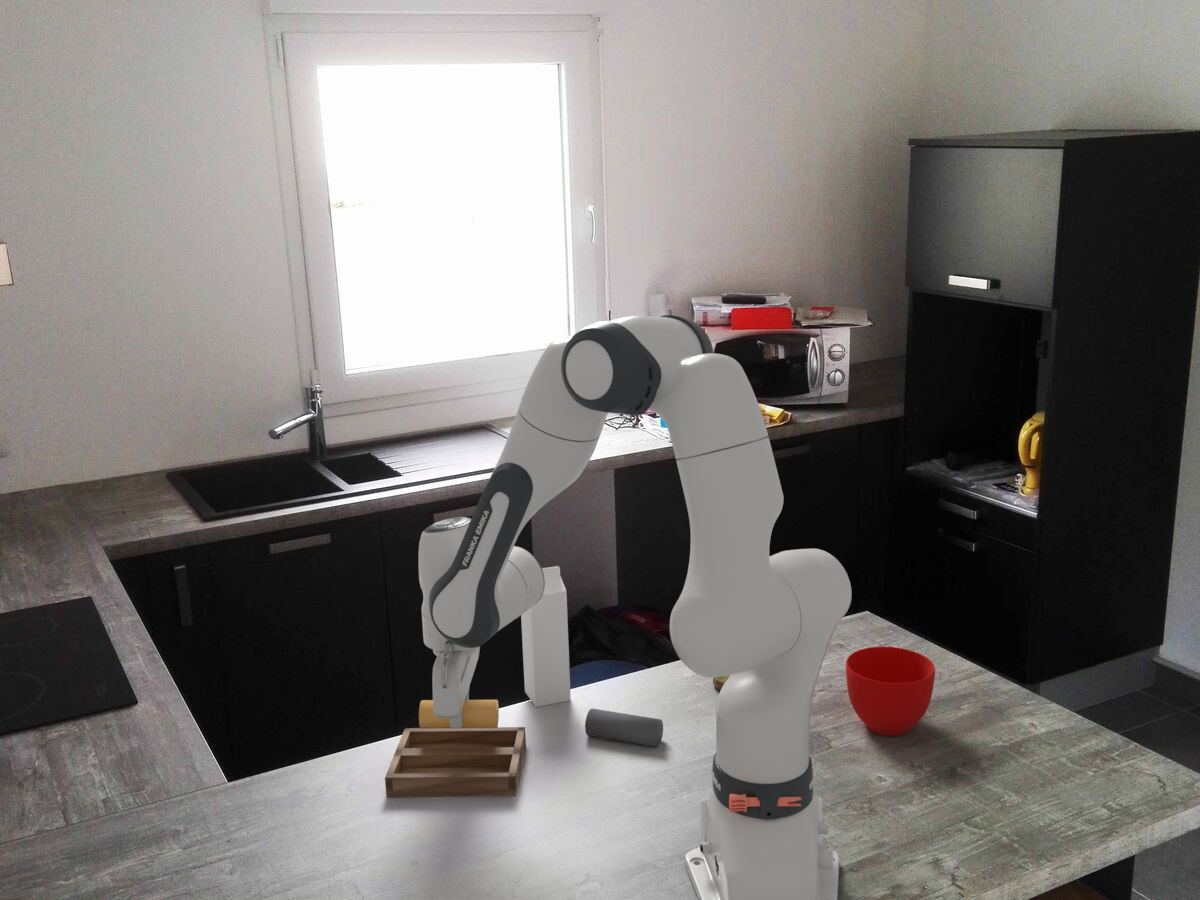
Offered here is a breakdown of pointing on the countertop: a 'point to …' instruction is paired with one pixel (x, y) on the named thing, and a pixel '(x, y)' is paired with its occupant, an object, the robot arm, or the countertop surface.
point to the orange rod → (473, 715)
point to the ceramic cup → (889, 687)
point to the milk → (547, 644)
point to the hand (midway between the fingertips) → (459, 716)
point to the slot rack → (457, 762)
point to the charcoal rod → (624, 727)
